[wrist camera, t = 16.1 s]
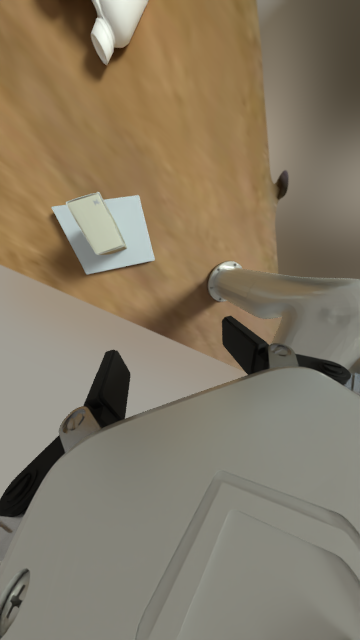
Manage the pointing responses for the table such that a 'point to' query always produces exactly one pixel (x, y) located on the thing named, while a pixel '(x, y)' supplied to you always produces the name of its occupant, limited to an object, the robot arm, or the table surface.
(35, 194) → the table surface
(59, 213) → the pale blue flat board
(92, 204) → the skincare box
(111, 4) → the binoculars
